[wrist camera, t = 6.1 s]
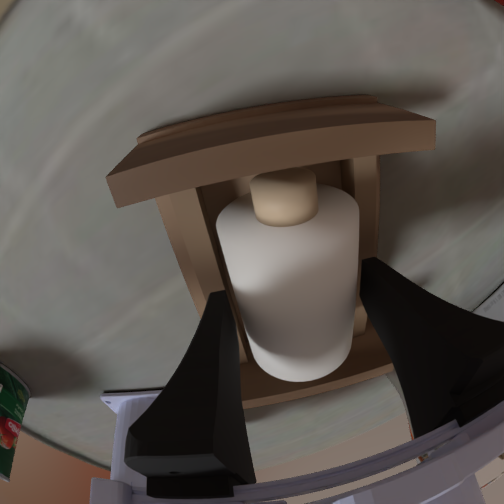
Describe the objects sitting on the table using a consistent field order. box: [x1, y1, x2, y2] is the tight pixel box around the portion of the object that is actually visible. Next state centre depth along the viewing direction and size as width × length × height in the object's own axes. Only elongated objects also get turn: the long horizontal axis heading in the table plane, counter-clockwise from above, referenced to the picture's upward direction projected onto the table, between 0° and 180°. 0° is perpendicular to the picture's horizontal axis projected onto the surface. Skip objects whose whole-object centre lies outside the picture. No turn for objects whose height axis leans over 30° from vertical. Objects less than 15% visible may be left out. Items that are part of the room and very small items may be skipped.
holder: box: [106, 95, 436, 409], centre depth 13 cm, size 14×10×5 cm
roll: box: [216, 167, 359, 382], centre depth 12 cm, size 9×5×5 cm, turn 10°
